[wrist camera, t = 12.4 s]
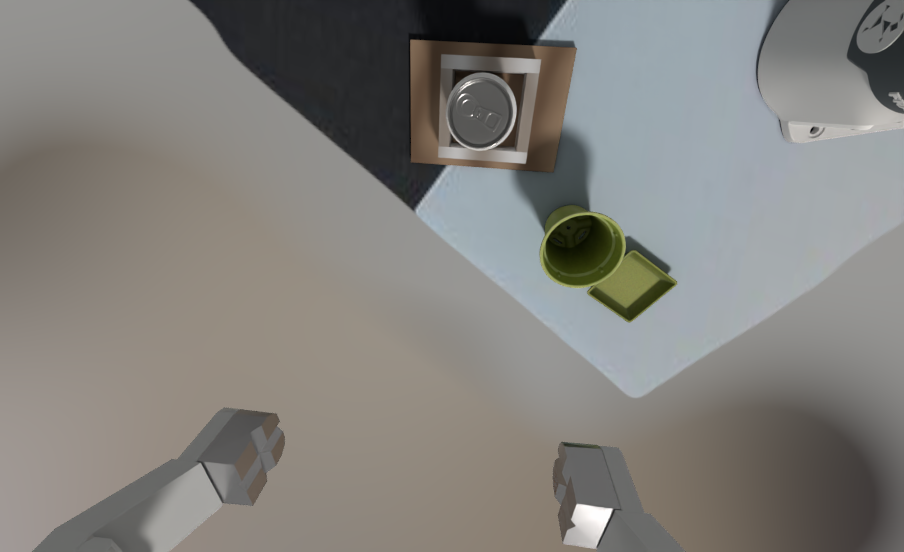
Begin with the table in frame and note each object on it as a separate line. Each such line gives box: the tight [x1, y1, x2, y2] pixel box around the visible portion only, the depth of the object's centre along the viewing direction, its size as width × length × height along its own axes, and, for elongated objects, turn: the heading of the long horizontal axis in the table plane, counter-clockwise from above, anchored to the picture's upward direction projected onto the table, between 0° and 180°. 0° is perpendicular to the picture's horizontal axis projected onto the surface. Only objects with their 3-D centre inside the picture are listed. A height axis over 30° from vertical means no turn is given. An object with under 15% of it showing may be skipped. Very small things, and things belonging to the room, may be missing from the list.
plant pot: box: [540, 205, 626, 288], centre depth 43 cm, size 9×9×9 cm
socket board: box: [410, 40, 577, 172], centre depth 39 cm, size 18×13×6 cm
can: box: [446, 72, 517, 151], centre depth 35 cm, size 6×6×12 cm
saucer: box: [587, 250, 677, 323], centre depth 49 cm, size 9×9×2 cm
